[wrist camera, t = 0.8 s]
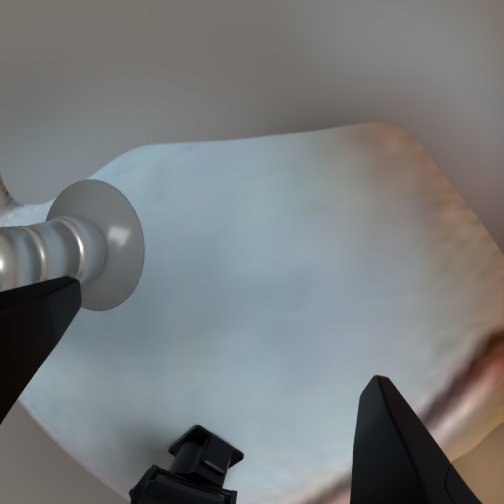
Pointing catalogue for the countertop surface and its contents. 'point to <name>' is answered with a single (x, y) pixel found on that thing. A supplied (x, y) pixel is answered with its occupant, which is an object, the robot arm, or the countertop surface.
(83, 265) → the silver bottle
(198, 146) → the countertop surface
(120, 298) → the round gray disc
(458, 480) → the robot arm
